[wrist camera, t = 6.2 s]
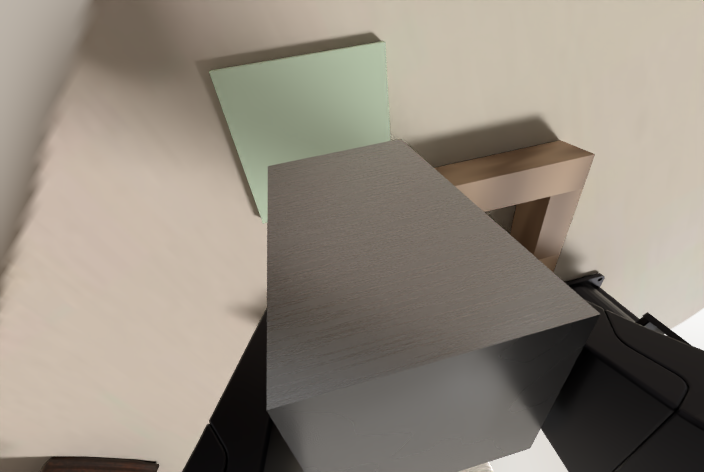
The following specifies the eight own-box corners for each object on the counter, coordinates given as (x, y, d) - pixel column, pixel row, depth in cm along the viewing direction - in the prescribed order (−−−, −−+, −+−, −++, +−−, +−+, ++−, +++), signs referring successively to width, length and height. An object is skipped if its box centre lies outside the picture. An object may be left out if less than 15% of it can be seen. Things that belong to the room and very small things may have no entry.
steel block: (400, 138, 11) (600, 313, 4) (404, 243, 13) (530, 448, 7) (267, 165, 10) (266, 410, 4) (299, 269, 13) (329, 514, 6)
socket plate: (560, 140, 23) (594, 154, 20) (528, 255, 29) (552, 276, 27) (417, 171, 21) (436, 190, 19) (417, 283, 28) (431, 308, 26)
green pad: (381, 41, 17) (385, 41, 16) (390, 190, 22) (393, 194, 21) (210, 70, 16) (208, 71, 15) (263, 218, 21) (263, 223, 20)
